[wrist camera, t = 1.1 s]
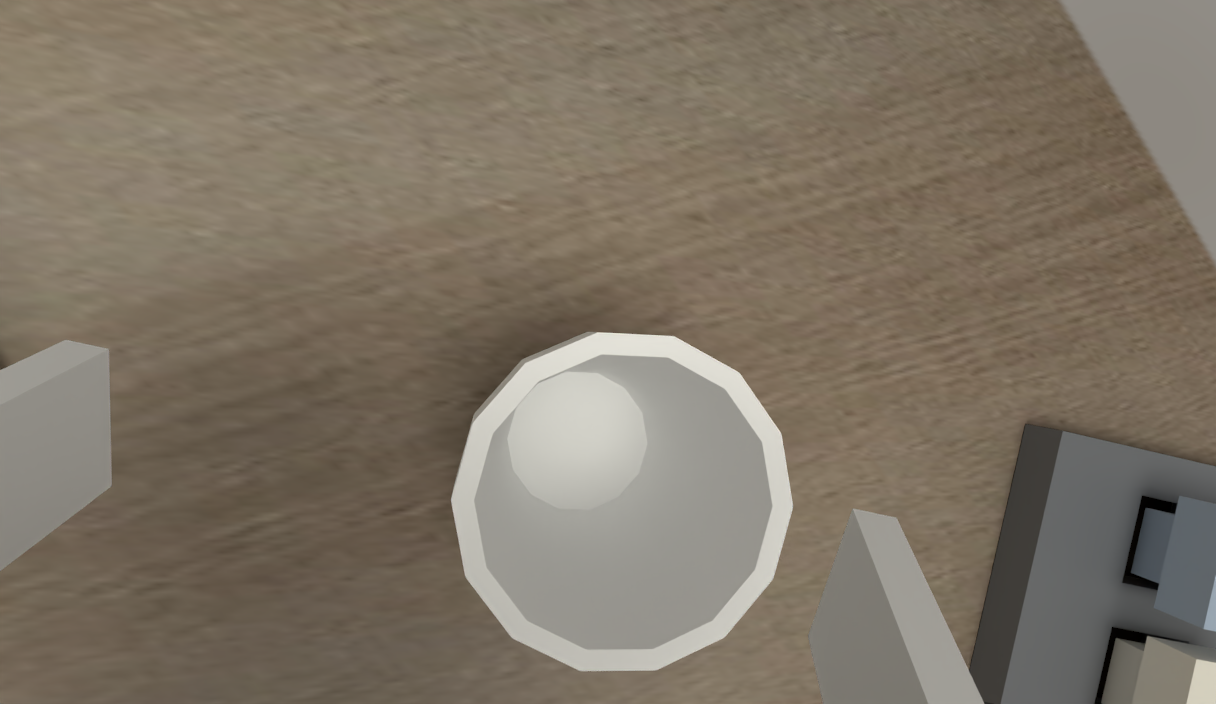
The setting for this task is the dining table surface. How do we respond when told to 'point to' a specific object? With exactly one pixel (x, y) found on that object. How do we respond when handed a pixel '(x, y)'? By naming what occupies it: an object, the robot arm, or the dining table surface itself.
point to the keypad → (1074, 566)
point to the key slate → (1181, 560)
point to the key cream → (1160, 673)
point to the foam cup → (621, 501)
